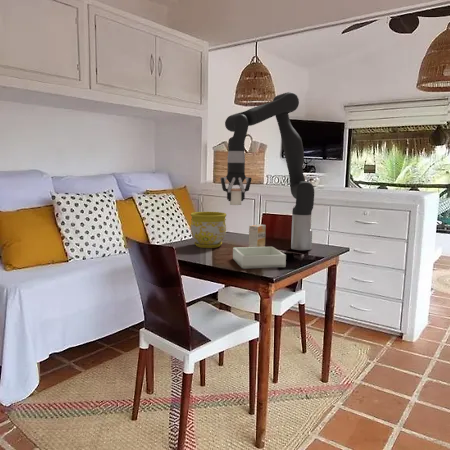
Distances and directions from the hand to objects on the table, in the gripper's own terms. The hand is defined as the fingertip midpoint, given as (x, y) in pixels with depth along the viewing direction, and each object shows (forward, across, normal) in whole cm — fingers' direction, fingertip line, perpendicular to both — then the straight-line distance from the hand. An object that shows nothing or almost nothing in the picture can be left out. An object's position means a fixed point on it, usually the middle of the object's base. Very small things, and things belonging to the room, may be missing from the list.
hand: (235, 200), depth 188 cm
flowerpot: (+25, +8, -27) cm, 38 cm away
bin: (+25, -7, +12) cm, 29 cm away
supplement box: (+25, -12, -8) cm, 29 cm away
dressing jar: (+2, 0, 0) cm, 2 cm away
